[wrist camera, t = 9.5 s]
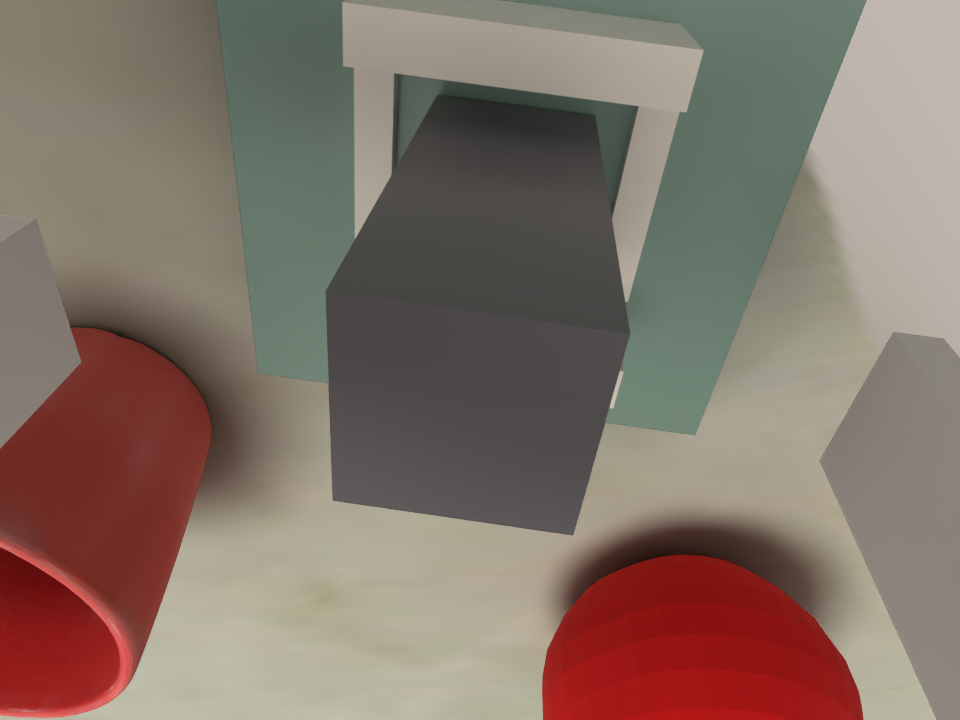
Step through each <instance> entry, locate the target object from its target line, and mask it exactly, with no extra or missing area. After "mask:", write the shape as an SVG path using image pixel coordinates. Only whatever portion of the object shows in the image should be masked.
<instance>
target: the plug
mask: <svg viewBox="0 0 960 720" xmlns="http://www.w3.org/2000/svg"><path fill="white" fill-rule="evenodd" d="M326 320H327V349H328V377H329V406H330V435H331V464H332V492H333V501H339V502H346V503H353V504H360V505H367V506H374V507H381V508H388V509H394V510H401V511H408V512H415V513H422V514H429V515H436V516H443V517H450V518H457V519H464V520H470V521H477V522H484V523H491V524H498V525H505V526H512V527H519V528H526V529H533V530H540V531H546V532H553V533H560V534H567V535H573V534H574V530H575V527H576V523H577V520H578V516H579V513H580V509H581V506H582V502H583V499H584V495H585V492H586V488H587V485H588V481H589V478H590V474H591V471H592V467H593V463H594V460H595V456H596V453H597V449H598V446H599V442H600V439H601V435H602V432H603V428H604V425H605V421H606V418H607V414H608V411H609V407H610V404H611V400H612V397H613V393H614V390H615V386H616V382H617V379H618V375H619V372H620V368H621V365H622V361H623V358H624V354H625V351H626V347H627V344H628V340H629V337H630V329H629V322H628V316H627V310H626V304H625V297H624V291H623V285H622V279H621V273H620V266H619V260H618V254H617V248H616V242H615V235H614V229H613V223H612V217H611V210H610V204H609V198H608V192H607V186H606V179H605V173H604V167H603V161H602V155H601V148H600V142H599V136H598V130H597V123H596V117H595V116H591V115H584V114H577V113H569V112H562V111H554V110H547V109H540V108H532V107H525V106H517V105H510V104H502V103H495V102H488V101H480V100H473V99H465V98H458V97H451V96H443V95H437V96H436V98H435V100H434V101H433V103H432V105H431V107H430V108H429V110H428V112H427V114H426V115H425V117H424V119H423V121H422V122H421V124H420V126H419V128H418V129H417V131H416V133H415V135H414V136H413V138H412V140H411V142H410V143H409V145H408V147H407V149H406V150H405V152H404V154H403V156H402V158H401V159H400V161H399V163H398V165H397V166H396V168H395V170H394V172H393V173H392V175H391V177H390V179H389V180H388V182H387V184H386V186H385V187H384V189H383V191H382V193H381V194H380V196H379V198H378V200H377V201H376V203H375V205H374V207H373V208H372V210H371V212H370V214H369V216H368V217H367V219H366V221H365V223H364V224H363V226H362V228H361V230H360V231H359V233H358V235H357V237H356V238H355V240H354V242H353V244H352V245H351V247H350V249H349V251H348V252H347V254H346V256H345V258H344V259H343V261H342V263H341V265H340V267H339V268H338V270H337V272H336V274H335V275H334V277H333V279H332V281H331V282H330V284H329V286H328V288H327V289H326Z"/></svg>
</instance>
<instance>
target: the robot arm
mask: <svg viewBox="0 0 960 720" xmlns="http://www.w3.org/2000/svg"><path fill="white" fill-rule="evenodd" d="M80 363H81V359H80V356H79V353H78V350H77V347H76V344H75V340H74V337H73V334H72V331H71V328H70V325H69V322H68V318H67V315H66V312H65V309H64V306H63V303H62V300H61V297H60V293H59V290H58V287H57V284H56V281H55V278H54V275H53V271H52V268H51V265H50V262H49V259H48V256H47V253H46V249H45V246H44V243H43V240H42V237H41V234H40V231H39V227H38V224H37V221H36V218H28V217H21V216H13V215H5V214H0V448H1V447H2V446H3V445H4V444H5V443H6V442H7V441H8V440H9V439H10V438H11V437H12V436H13V435H14V434H15V432H16V431H17V430H18V429H19V428H20V427H21V426H22V425H23V424H24V423H25V422H26V421H27V420H28V419H29V418H30V416H31V415H32V414H33V413H34V412H35V411H36V410H37V409H38V408H39V407H40V406H41V405H42V404H43V403H44V402H45V400H46V399H47V398H48V397H49V396H50V395H51V394H52V393H53V392H54V391H55V390H56V389H57V388H58V387H59V386H60V384H61V383H62V382H63V381H64V380H65V379H66V378H67V377H68V376H69V375H70V374H71V373H72V372H73V371H74V370H75V368H76V367H77V366H78V365H79V364H80ZM820 463H821V465H822V467H823V469H824V472H825V474H826V476H827V478H828V480H829V483H830V485H831V487H832V489H833V491H834V494H835V496H836V498H837V500H838V503H839V505H840V507H841V509H842V511H843V514H844V516H845V518H846V520H847V522H848V525H849V527H850V529H851V531H852V533H853V536H854V538H855V540H856V542H857V545H858V547H859V549H860V551H861V553H862V556H863V558H864V560H865V562H866V564H867V567H868V569H869V571H870V573H871V575H872V578H873V580H874V582H875V584H876V586H877V589H878V591H879V593H880V595H881V598H882V600H883V602H884V604H885V606H886V609H887V611H888V613H889V615H890V617H891V620H892V622H893V624H894V626H895V628H896V631H897V633H898V635H899V637H900V640H901V642H902V644H903V646H904V648H905V651H906V653H907V655H908V657H909V659H910V662H911V664H912V666H913V668H914V670H915V673H916V675H917V677H918V679H919V682H920V684H921V686H922V688H923V690H924V693H925V695H926V697H927V699H928V701H929V704H930V706H931V708H932V710H933V712H934V715H935V717H936V719H937V720H960V358H959V356H958V355H957V354H956V353H955V352H954V350H953V349H952V348H951V347H950V346H949V344H948V343H947V342H946V341H945V340H944V339H942V338H935V337H927V336H920V335H912V334H905V333H897V332H893V334H892V335H891V337H890V339H889V341H888V342H887V344H886V346H885V348H884V349H883V351H882V353H881V354H880V356H879V358H878V360H877V361H876V363H875V365H874V367H873V368H872V370H871V372H870V374H869V375H868V377H867V379H866V381H865V382H864V384H863V386H862V388H861V389H860V391H859V393H858V394H857V396H856V398H855V400H854V401H853V403H852V405H851V407H850V408H849V410H848V412H847V414H846V415H845V417H844V419H843V421H842V422H841V424H840V426H839V428H838V429H837V431H836V433H835V435H834V436H833V438H832V440H831V441H830V443H829V445H828V447H827V448H826V450H825V452H824V454H823V455H822V457H821V459H820Z"/></svg>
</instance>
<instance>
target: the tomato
mask: <svg viewBox="0 0 960 720" xmlns="http://www.w3.org/2000/svg"><path fill="white" fill-rule="evenodd" d="M542 698H543V720H863V712H862V706H861V701H860V696H859V691H858V689H857V686H856V684H855V682H854V679H853V677H852V675H851V672H850V670H849V668H848V665H847V663H846V660H845V659H844V658H843V656H842V655H841V654H840V652H839V651H838V650H837V648H836V647H835V646H834V644H833V643H832V642H831V640H830V639H829V638H828V636H827V635H826V634H825V632H824V631H823V629H822V628H821V627H820V625H819V624H818V622H817V621H816V619H815V618H814V617H812V616H811V615H810V614H809V613H808V612H807V611H805V610H804V609H803V608H802V607H801V606H799V605H798V604H797V603H796V602H795V601H794V600H792V599H791V598H790V597H789V596H788V595H787V594H786V593H784V592H783V591H782V590H781V589H780V588H778V587H777V586H775V585H773V584H771V583H770V582H768V581H766V580H765V579H763V578H761V577H759V576H758V575H756V574H754V573H752V572H751V571H749V570H747V569H745V568H744V567H741V566H739V565H736V564H734V563H731V562H728V561H726V560H722V559H717V558H712V557H707V556H701V555H672V556H664V557H656V558H653V559H649V560H646V561H642V562H639V563H636V564H633V565H630V566H628V567H625V568H623V569H620V570H618V571H616V572H614V573H611V574H609V575H607V576H605V577H603V578H601V579H600V580H598V581H597V582H596V583H594V584H593V585H592V586H590V587H589V588H588V589H587V590H586V591H585V592H584V593H583V594H582V595H581V597H580V598H579V599H578V600H577V601H576V602H575V604H574V605H573V606H572V607H571V608H570V610H569V611H568V612H567V613H566V614H565V616H564V618H563V620H562V621H561V623H560V625H559V627H558V629H557V631H556V633H555V635H554V637H553V639H552V641H551V643H550V645H549V647H548V649H547V655H546V660H545V666H544V672H543V684H542Z"/></svg>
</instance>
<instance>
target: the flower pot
mask: <svg viewBox="0 0 960 720" xmlns="http://www.w3.org/2000/svg"><path fill="white" fill-rule="evenodd" d="M71 331H72V334H73V337H74V340H75V344H76V347H77V350H78V353H79V356H80V359H81V363H80V364H79V365H78V366H77V367H76V368H75V370H74V371H73V372H72V373H71V374H70V375H69V376H68V377H67V378H66V379H65V380H64V381H63V382H62V383H61V384H60V386H59V387H58V388H57V389H56V390H55V391H54V392H53V393H52V394H51V395H50V396H49V397H48V398H47V399H46V400H45V402H44V403H43V404H42V405H41V406H40V407H39V408H38V409H37V410H36V411H35V412H34V413H33V414H32V415H31V416H30V418H29V419H28V420H27V421H26V422H25V423H24V424H23V425H22V426H21V427H20V428H19V429H18V430H17V431H16V432H15V434H14V435H13V436H12V437H11V438H10V439H9V440H8V441H7V442H6V443H5V444H4V445H3V446H2V447H1V448H0V715H3V716H13V717H38V718H51V717H64V716H70V715H76V714H80V713H84V712H87V711H91V710H93V709H96V708H98V707H101V706H103V705H105V704H107V703H109V702H110V701H112V700H113V699H114V698H116V697H117V696H118V695H119V694H120V693H121V692H122V691H123V690H124V689H125V688H126V687H127V686H128V684H129V683H130V682H131V680H132V678H133V676H134V674H135V671H136V669H137V667H138V664H139V662H140V659H141V657H142V654H143V651H144V649H145V646H146V643H147V641H148V638H149V635H150V632H151V630H152V627H153V624H154V621H155V618H156V616H157V613H158V610H159V607H160V604H161V602H162V599H163V596H164V593H165V590H166V587H167V584H168V581H169V578H170V576H171V573H172V570H173V567H174V564H175V561H176V558H177V555H178V552H179V549H180V546H181V542H182V539H183V536H184V533H185V530H186V527H187V524H188V520H189V517H190V513H191V510H192V507H193V503H194V500H195V497H196V493H197V490H198V487H199V483H200V480H201V476H202V473H203V469H204V466H205V462H206V459H207V456H208V452H209V449H210V445H211V440H212V423H211V418H210V415H209V412H208V409H207V406H206V404H205V402H204V400H203V398H202V396H201V395H200V393H199V392H198V390H197V389H196V387H195V386H194V385H193V383H192V382H191V381H190V380H189V379H188V378H187V376H186V375H185V374H184V373H183V372H182V371H181V370H179V369H178V368H177V367H176V366H175V365H174V364H172V363H171V362H170V361H169V360H167V359H166V358H164V357H163V356H161V355H160V354H158V353H157V352H155V351H154V350H152V349H150V348H149V347H147V346H145V345H143V344H141V343H139V342H136V341H133V340H130V339H127V338H123V337H119V336H117V335H115V334H113V333H111V332H108V331H105V330H99V329H93V328H81V327H71Z"/></svg>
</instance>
